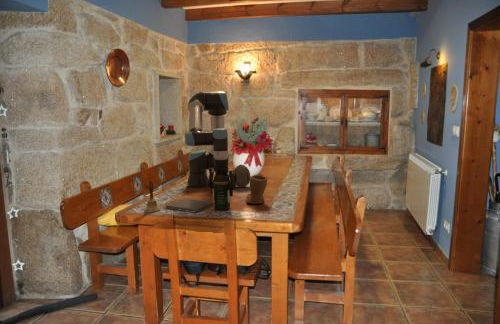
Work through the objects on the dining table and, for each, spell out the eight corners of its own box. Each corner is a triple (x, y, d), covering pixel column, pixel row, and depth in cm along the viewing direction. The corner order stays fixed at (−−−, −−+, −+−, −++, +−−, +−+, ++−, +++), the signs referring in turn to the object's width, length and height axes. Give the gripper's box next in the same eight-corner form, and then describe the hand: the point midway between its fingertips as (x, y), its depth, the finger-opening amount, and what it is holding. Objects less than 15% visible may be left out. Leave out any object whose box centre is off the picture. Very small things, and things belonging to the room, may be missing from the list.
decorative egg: (254, 186, 251) (254, 164, 248) (241, 190, 242) (241, 166, 240) (241, 184, 259) (241, 162, 256) (229, 187, 250) (228, 164, 248)
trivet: (165, 208, 204) (165, 205, 204) (183, 201, 218) (183, 198, 218) (196, 212, 195) (196, 209, 195) (213, 204, 209) (213, 202, 209)
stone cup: (267, 205, 206) (266, 178, 204) (245, 205, 207) (244, 178, 204) (268, 198, 221) (267, 172, 218) (247, 198, 222) (247, 172, 219)
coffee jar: (227, 210, 197) (226, 175, 194) (212, 210, 198) (211, 175, 195) (231, 205, 206) (230, 172, 203) (217, 205, 207) (216, 171, 204)
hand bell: (145, 208, 204) (143, 179, 202) (161, 207, 205) (159, 178, 202) (142, 212, 196) (140, 182, 194) (159, 212, 197) (157, 181, 194)
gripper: (199, 158, 199) (201, 200, 203) (235, 160, 190) (236, 205, 193) (207, 156, 206) (209, 197, 209) (242, 158, 196) (243, 201, 200)
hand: (222, 201), depth 201 cm, fingers closed on coffee jar, 8 cm apart
